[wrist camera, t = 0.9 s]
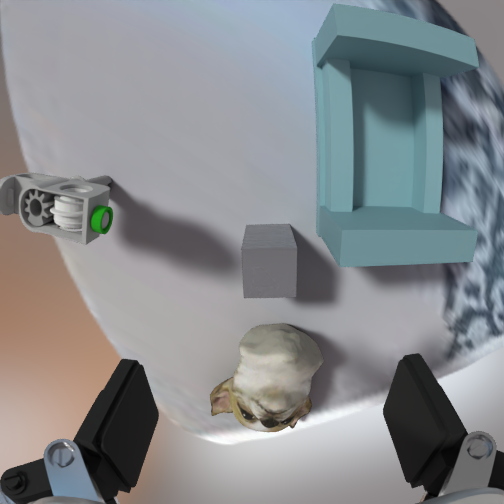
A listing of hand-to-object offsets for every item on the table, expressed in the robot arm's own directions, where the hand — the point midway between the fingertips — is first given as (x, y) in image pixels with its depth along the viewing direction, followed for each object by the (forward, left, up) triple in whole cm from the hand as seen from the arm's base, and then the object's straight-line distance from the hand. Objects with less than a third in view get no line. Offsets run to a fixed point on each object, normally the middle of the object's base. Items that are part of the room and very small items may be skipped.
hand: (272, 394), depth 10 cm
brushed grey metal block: (0, 0, -16) cm, 16 cm away
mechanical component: (-6, -14, -17) cm, 23 cm away
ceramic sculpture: (+13, 0, -17) cm, 21 cm away
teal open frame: (-9, +9, -16) cm, 21 cm away
